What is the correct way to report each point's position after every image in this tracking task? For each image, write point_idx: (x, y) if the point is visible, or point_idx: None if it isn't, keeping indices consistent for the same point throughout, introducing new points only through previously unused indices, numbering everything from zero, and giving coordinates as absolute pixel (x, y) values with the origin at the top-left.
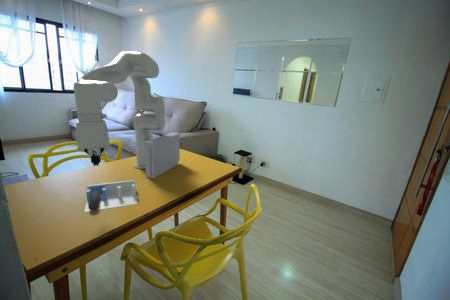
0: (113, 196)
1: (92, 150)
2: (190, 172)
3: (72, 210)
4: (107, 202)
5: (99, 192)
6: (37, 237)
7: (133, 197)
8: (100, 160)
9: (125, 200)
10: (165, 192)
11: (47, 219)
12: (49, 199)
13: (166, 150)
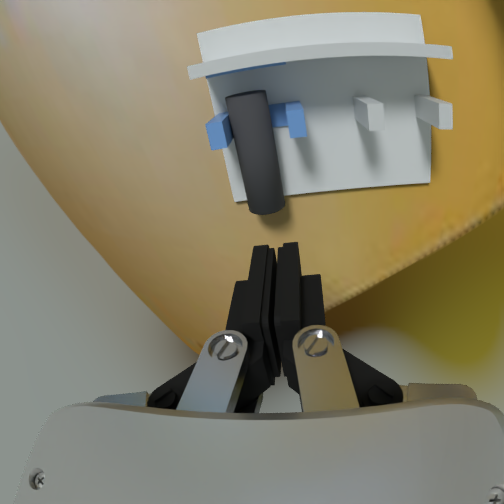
0: (328, 90)
1: (237, 384)
2: None
3: (183, 175)
4: (310, 144)
5: (263, 95)
6: (160, 291)
7: (418, 125)
8: (321, 284)
9: (386, 144)
10: None
11: (133, 219)
12: (67, 90)
13: None
